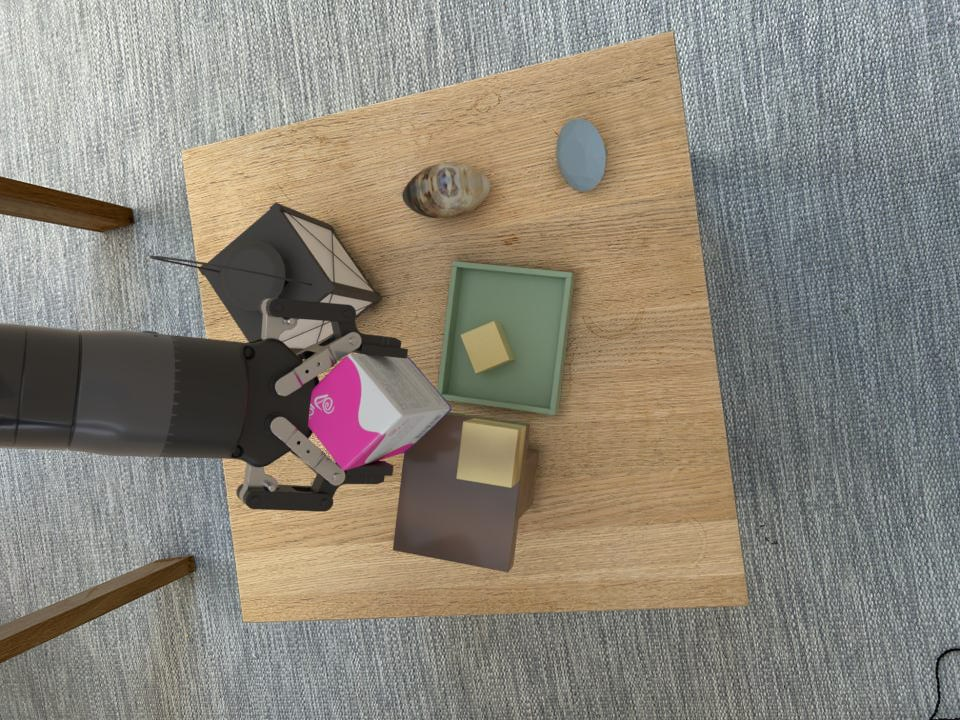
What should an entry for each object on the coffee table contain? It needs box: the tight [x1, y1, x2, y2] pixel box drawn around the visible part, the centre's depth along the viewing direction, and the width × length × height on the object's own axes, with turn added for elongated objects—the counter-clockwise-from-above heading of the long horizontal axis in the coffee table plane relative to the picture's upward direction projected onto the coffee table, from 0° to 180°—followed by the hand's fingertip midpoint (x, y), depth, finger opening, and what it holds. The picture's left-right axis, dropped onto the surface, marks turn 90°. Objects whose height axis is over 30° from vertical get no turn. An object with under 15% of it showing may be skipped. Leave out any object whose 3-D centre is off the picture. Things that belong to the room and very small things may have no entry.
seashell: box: [401, 162, 491, 219], centre depth 83 cm, size 10×6×8 cm, turn 98°
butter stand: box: [392, 411, 540, 573], centre depth 73 cm, size 12×10×26 cm
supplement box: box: [308, 352, 453, 471], centre depth 56 cm, size 6×6×12 cm
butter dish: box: [436, 260, 576, 416], centre depth 84 cm, size 15×13×3 cm
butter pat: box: [461, 321, 515, 374], centre depth 84 cm, size 4×4×4 cm
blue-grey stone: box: [555, 117, 608, 193], centre depth 82 cm, size 8×8×5 cm
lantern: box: [149, 202, 383, 354], centre depth 77 cm, size 11×11×28 cm
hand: (396, 410), depth 56 cm, fingers closed on supplement box, 8 cm apart
